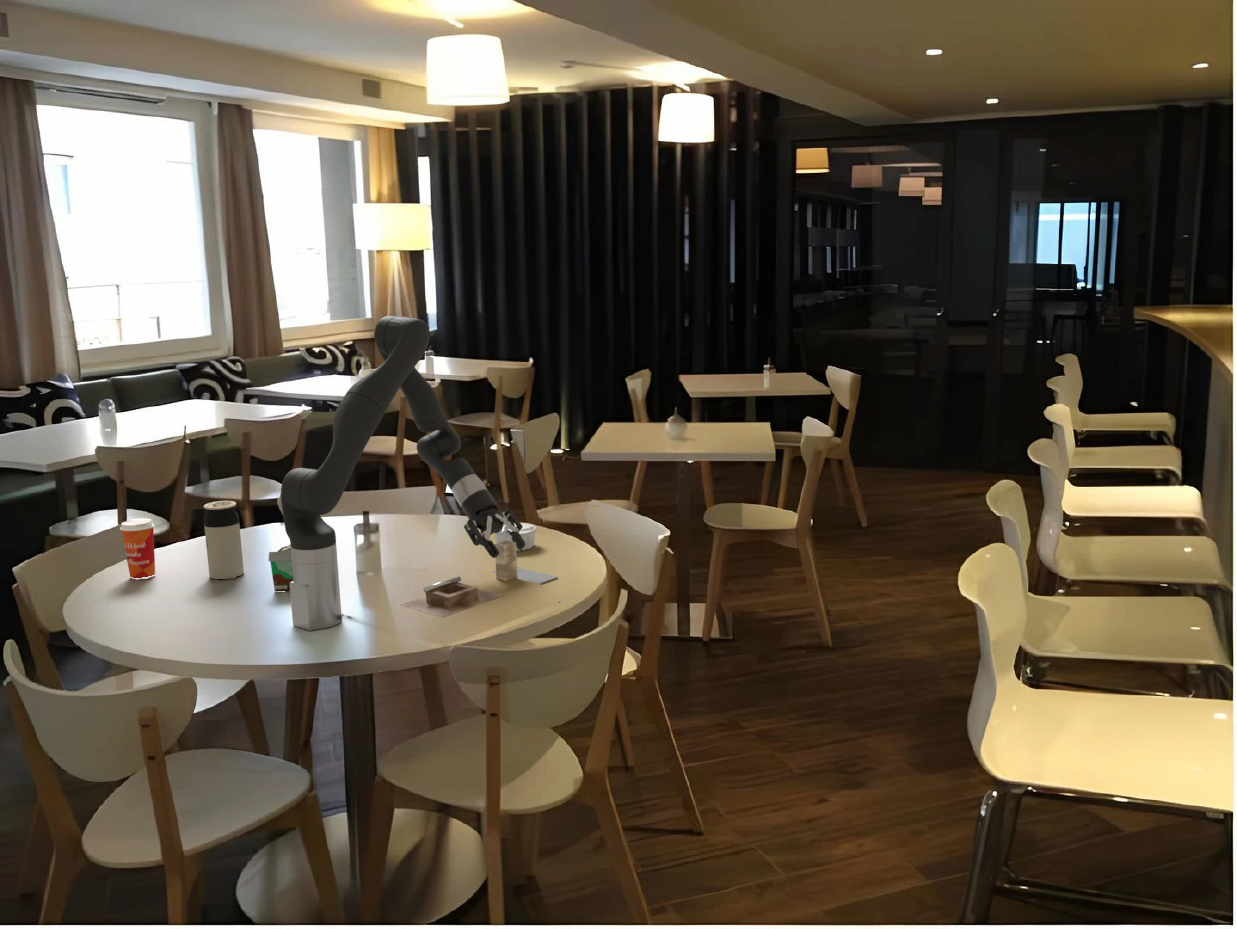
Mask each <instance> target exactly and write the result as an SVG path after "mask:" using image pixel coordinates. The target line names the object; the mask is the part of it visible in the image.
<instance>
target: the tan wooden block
mask: <svg viewBox="0 0 1237 929" xmlns="http://www.w3.org/2000/svg"><path fill="white" fill-rule="evenodd" d="M494 545H495V546H496V548H497V549H498V551H499V555H498V556H497V557H496V558H494V559H495V570H496V573H495V575H496V576H495V577H496V578H495V579H496V580H499V581H504V582H506V581H509V580H510V581H511V580H513V579H517V567H518V560H517V558H518V557H517V551H516V542H512V541H504V542H501V543H497V542H496V543H494Z"/></svg>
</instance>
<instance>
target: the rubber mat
mask: <svg viewBox="0 0 1237 929" xmlns="http://www.w3.org/2000/svg"><path fill="white" fill-rule="evenodd" d="M491 573H493V574H496V569H495V570H493V571H491ZM557 578H559V576H557V575H553V574H548V573H544V572H540V571H535V570H532V569H526V568H522V567H518V566H517V578H516V579H517V580H522V581H525V582H528V583H529V582H530V583H533V584H538V585H544V584H546V583H549V582H551V581H550V580H552V581H554V580H553V579H555V580H557ZM548 581H549V582H548ZM545 582H546V583H545ZM543 583H544V584H543Z"/></svg>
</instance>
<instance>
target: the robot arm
mask: <svg viewBox="0 0 1237 929" xmlns="http://www.w3.org/2000/svg"><path fill="white" fill-rule="evenodd" d="M373 334H374V335H373V337H374V341H375V342H374V343H375V346H376V347H377V350H378V352H379V354H380V355H381V357H382V360H383V361H384V362H382V363H381V364H380V365H379V366H378V367H376V368H375V369H374V370H372V371H371V372H369V373H368V374H366V375H365V376H363V377H362V378H361V379H359V380H358V381H357V382H355V383H354V384H353V385H351V387H350V388H349V389H348V390H347V391H346V393H345V395H344V396H343V397H342V399H341V401H340V403H339V405H338V406H337V408H336V410H335V411H334V415H333V419H332V445H331V448H330V450H329V453H328V455H327V456H326V457H325V460H324V461H323V463H322V464H321V466H319V468H318V469H313V468H307V467H306V468H305V467H297V468H293V469H291V470H289V471H288V472H287V473H286V474H285V476H284V477H283V480H282V482H281V486H280V487H281V488H280V500H281V508H282V516H283V524H284V530H285V534H286V535H287V537H288V538H289V541H290V542H289V543H290V544H289V545H291V556H292V569H293V581H292V582H290V591H289V594H290V595H289V596H290V603H291V604H290V606H291V618H292V626H295V627H298V628H300V629H303V630H306V631H313V630H320V629H321V630H322V629H328V628H331V627H335V626H337V625H338V624H340V623H341V622H342V620H343V616H342V614H343V613H342V605H341V604H342V602H341V591H340V589H341V587H340V577H339V576H340V575H339V565H338V564H339V562H338V552H337V551H338V550H337V549H338V548H337V536H336V535H337V534H336V531H335V529H334V528H333V527H332V526H330V525H329V524H328V523H326V521H325V520H324V519H323V518H322V515H327V514H329V513H330V512H332V511H333V510H334V509H335V507H336V506H337V505H338V503H339V502H340V500H341V498H342V496H343V494H344V492H345V490H346V487H347V484H348V483H349V481H350V478H351V476H352V473H353V471H354V470H355V468H356V466H357V463H358V461H359V460H360V457H361V455H362V454H363V452H364V450H365V448H366V446H367V445H368V443H369V441H370V439H371V438H372V436H373V434H374V433H375V431H376V430H377V428H378V426H379V425H380V423H381V421H382V420H383V418H384V415H385V414H386V412H387V410H388V408H389V406H390V404H391V403H392V401H393V400H394V398H395V396H396V395H397V393H398V392H399V389H400V390H401V392H402V393H403V396H404V398H405V400H406V402H407V405H408V407H409V410H410V413H411V415H412V418H413V421H414V424H415V426H416V428H417V429H418V430H419V431H420V432H424V433H429V434H427V435H425V436H422V437H421V438H419V439H418V441H417V443H416V451H417V453H418V456H419V457H420V458H421V460H422V461H423V462H424V463H426V465H427V466H429V467H430V468H432V469H433V471H435V472H436V473H438V475H440V476H441V478H442V479H443V480H444V482H445V483H446V484H447V486H448V487H449V489H450V491H451V493H452V495H453V496H454V498H455V500H456V501H457V503H458V505H459V507H460V508H461V509H462V511H463V513H464V515H466V517H467V518H468V520H467V521H466V523H465V524H463V525H464V526H463V528H464V530H465V532H466V533H467V535H468V536H469V538H470V540H471V541H472V544H473V545H474V546H479V545H480V546H481V547H484V549H485V550H486V552H487V554H488V555H489V556H490V557H491V558H492V559H495V558H496V557H497V556H498V555H499V551H498V549H497V548H496V546H495V543H494V542H493V540H492V539H491V536H492V535H493V534H495V533H498V532H500V533H502V534H507V535H508V536H510V537H512V538H511V539H512V541H513V542H516V547H517V548H518V549H519V550H521V549H523V548H524V547H525V541H524V540H523V538H522V537H521V535H520V534H519V531H520V530H521V529H522V528H523V526H522V525H521V523H522V522H520V521H519V520H518V518H517V516H516V515H515V514H514V512H513V511H512V510H511V509H510V508H507V509H506V510H505V511H503V512H501V511H500V510H499V509H498V504H497V501H496V500H495V499H494V497H493V495H492V494H491V493H490V491H489V489H487V487H486V485H485V484H484V483H483V481H482V480H481V479H480V478H479V476H478V475H477V474H476V473H475V471H474V469H473V468H472V466H471V465H470V463H469V462H468V461H467V460H466V459H465V458H463V457H459V458H458V457H457V458H454V459H453V458H452V459H446V458H448V457H450V456H452V455H454V454H456V453H457V452H459V451H460V449H461V446H462V440H461V437H460V435H459V434H458V433H457V432H456V430H455V429H454V428H453V426H451V424H450V423H449V421H448V420H447V418H446V416H445V414H444V411H443V408H442V406H441V403H440V400H439V397H438V395H437V393H436V391H435V389H434V388H433V386H431V384H430V383H429V382H428V380H426V378H425V377H424V376H423V375H422V374H421V373H420V372H419V371H418V369H417V368H416V366H417V364H418V363H419V361H420V360H421V359H422V358H423V356H424V354H425V352H426V351H427V349H428V348H427V347H428V346H429V341H430V337H431V336H430V328H429V326H428V324H427V323H426V322H425V321H424V320H423V319H419V318H415V317H407V316H400V315H399V316H398V315H397V316H396V315H386V316H384V317H383V316H382V317H381V318H380V319H379V320H378V321H377V323H376V325H375V328H374V333H373ZM430 432H431V433H430ZM514 523H515V525H516V526H517V527H515V525H514ZM503 524H504V525H506V526H505V527H504V528H503ZM508 529H510V530H512V532H511V531H509V530H508ZM479 530H480V531H479Z"/></svg>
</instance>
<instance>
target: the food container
mask: <svg viewBox="0 0 1237 929" xmlns="http://www.w3.org/2000/svg"><path fill="white" fill-rule="evenodd" d="M268 562H270V569H271V574H272V576H271V577H272V580H273V581H272V582H273V588H274V592H275V591H289V592H290V582H292V581H293V569H292V556H291V545H290V544H289V545H285V546H282V547H281V548H280V549H278V550H277V551H269V552H268Z"/></svg>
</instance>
